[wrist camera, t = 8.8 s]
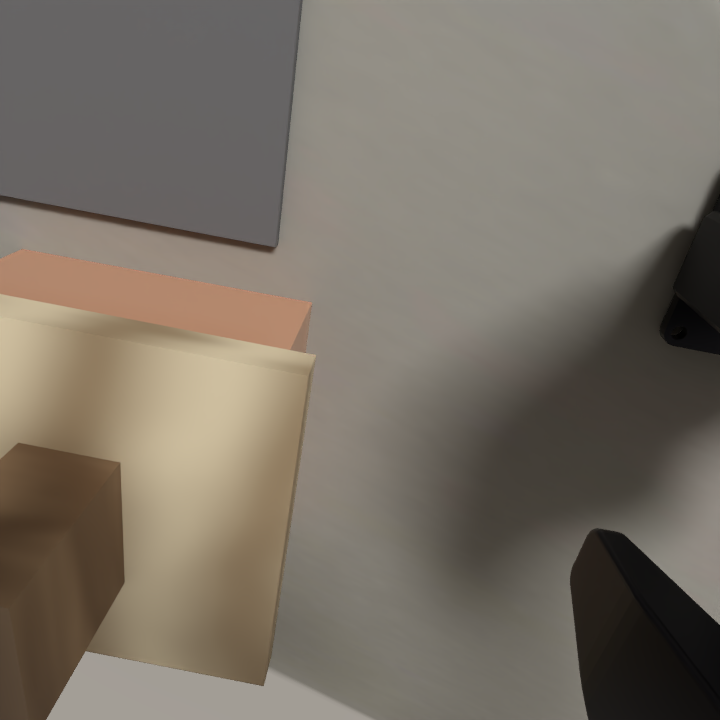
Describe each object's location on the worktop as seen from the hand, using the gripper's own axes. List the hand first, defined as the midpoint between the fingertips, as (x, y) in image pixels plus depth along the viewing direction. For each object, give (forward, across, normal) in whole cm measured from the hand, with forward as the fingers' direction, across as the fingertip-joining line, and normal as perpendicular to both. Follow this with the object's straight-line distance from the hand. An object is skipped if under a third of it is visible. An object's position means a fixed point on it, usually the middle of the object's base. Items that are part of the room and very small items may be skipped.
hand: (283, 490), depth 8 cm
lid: (+7, +7, +8) cm, 13 cm away
